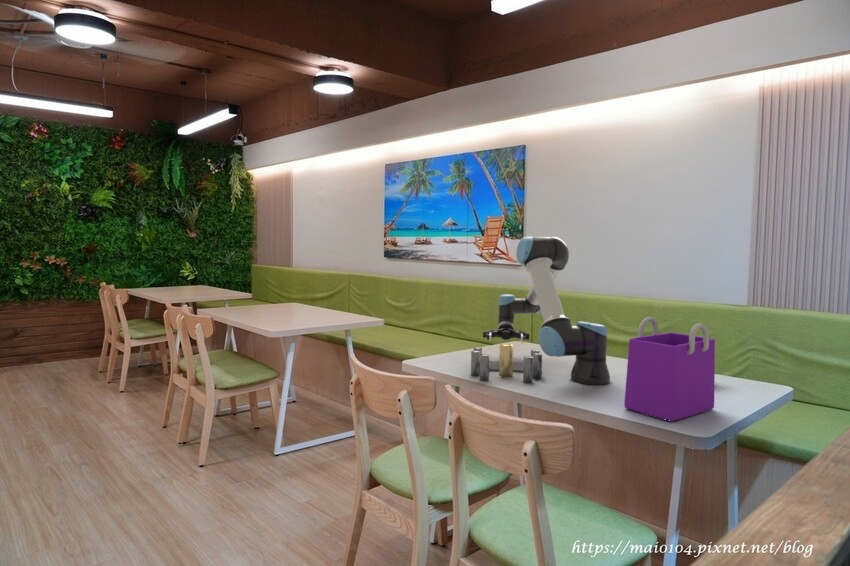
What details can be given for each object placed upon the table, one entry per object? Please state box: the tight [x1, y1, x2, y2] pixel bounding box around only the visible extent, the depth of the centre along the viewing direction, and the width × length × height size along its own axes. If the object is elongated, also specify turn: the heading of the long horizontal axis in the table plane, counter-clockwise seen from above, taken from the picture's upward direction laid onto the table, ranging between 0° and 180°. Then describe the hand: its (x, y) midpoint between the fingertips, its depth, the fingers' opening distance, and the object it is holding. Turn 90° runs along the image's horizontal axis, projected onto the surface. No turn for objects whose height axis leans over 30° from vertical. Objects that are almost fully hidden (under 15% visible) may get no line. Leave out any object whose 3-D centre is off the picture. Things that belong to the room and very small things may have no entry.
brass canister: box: [498, 343, 514, 378], centre depth 223 cm, size 6×6×13 cm
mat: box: [489, 360, 524, 373], centre depth 239 cm, size 16×16×1 cm
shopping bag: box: [623, 316, 716, 422], centre depth 179 cm, size 28×22×30 cm
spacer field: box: [470, 346, 543, 384], centre depth 222 cm, size 29×18×10 cm, turn 82°
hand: (506, 338), depth 233 cm, fingers open, 13 cm apart
